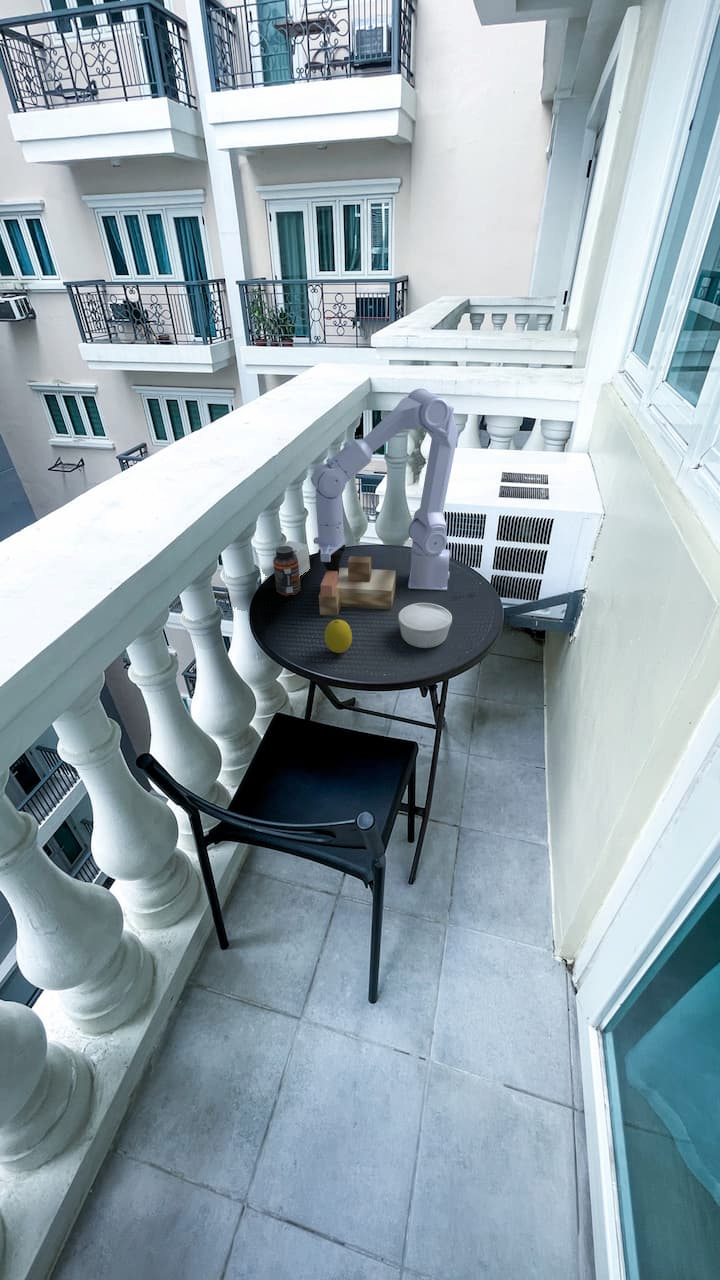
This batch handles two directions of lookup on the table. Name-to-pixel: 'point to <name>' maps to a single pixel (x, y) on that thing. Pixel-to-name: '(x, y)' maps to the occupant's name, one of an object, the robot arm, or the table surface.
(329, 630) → the lemon
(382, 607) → the beige wooden shallow box
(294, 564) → the supplement bottle
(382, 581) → the lid
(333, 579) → the reddish-pink rectangular block
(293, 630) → the table surface
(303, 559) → the skincare box
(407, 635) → the ramekin
